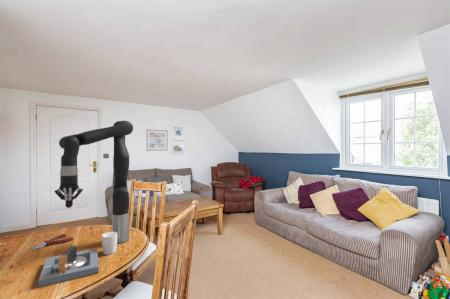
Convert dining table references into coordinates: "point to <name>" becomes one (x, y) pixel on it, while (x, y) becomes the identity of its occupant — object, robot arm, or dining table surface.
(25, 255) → the dining table surface
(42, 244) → the pliers
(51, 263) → the housing
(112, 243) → the white cup
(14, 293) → the dining table surface
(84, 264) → the dial
